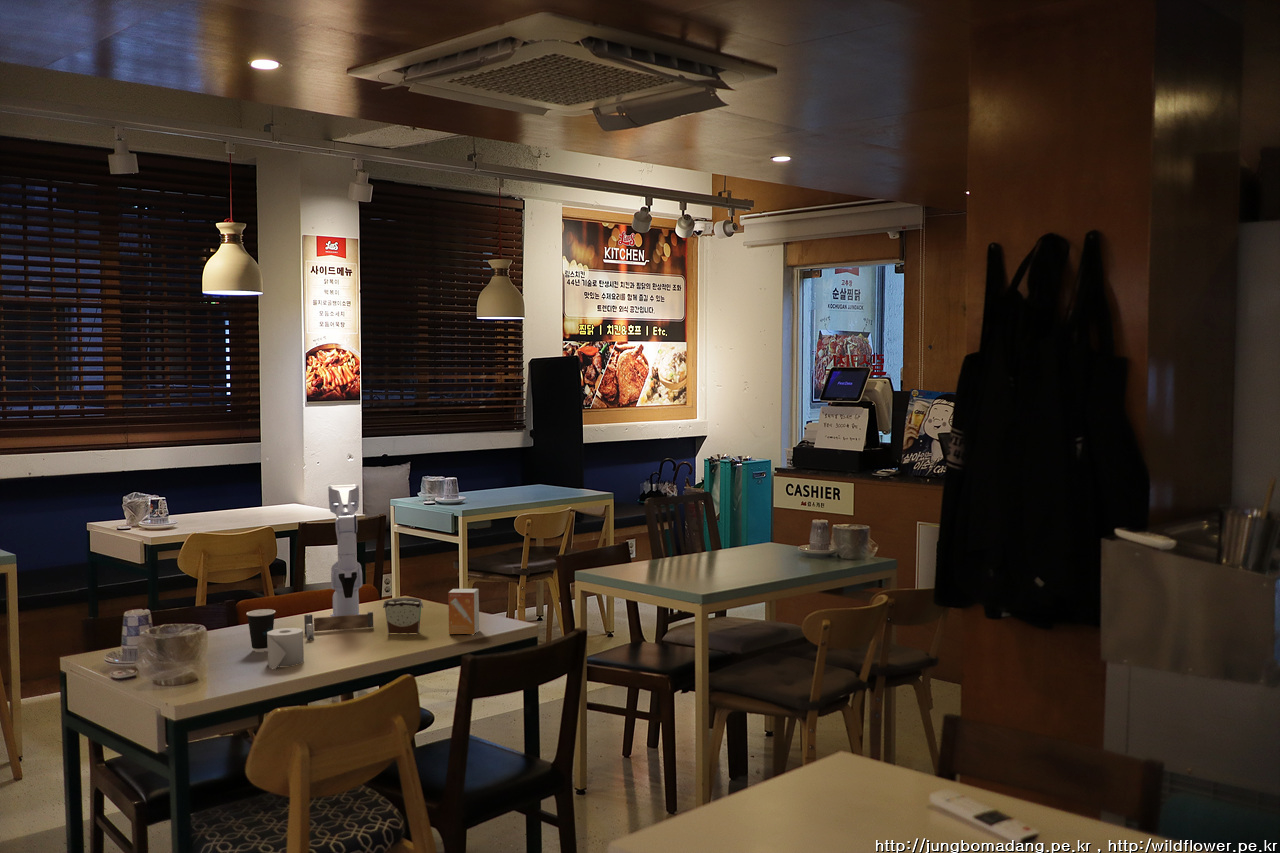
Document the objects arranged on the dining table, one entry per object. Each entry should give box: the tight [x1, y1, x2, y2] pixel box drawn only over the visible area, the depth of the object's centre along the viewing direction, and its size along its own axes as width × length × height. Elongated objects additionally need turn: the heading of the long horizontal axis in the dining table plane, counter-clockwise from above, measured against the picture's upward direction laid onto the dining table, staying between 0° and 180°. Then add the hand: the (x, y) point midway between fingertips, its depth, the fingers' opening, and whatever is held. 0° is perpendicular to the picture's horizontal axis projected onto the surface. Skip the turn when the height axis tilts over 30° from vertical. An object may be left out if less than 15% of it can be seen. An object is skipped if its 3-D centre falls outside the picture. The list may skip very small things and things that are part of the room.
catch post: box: [306, 623, 315, 641], centre depth 324 cm, size 2×2×4 cm
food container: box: [382, 597, 424, 634], centre depth 332 cm, size 12×6×10 cm, turn 84°
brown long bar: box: [313, 611, 374, 632], centre depth 336 cm, size 18×2×4 cm, turn 106°
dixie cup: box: [246, 608, 277, 653], centre depth 312 cm, size 8×8×11 cm
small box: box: [447, 588, 480, 635], centre depth 329 cm, size 8×6×13 cm
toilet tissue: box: [267, 627, 305, 670], centre depth 295 cm, size 9×13×9 cm
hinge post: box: [303, 613, 314, 635], centre depth 333 cm, size 2×2×6 cm
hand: (348, 596), depth 341 cm, fingers open, 2 cm apart
